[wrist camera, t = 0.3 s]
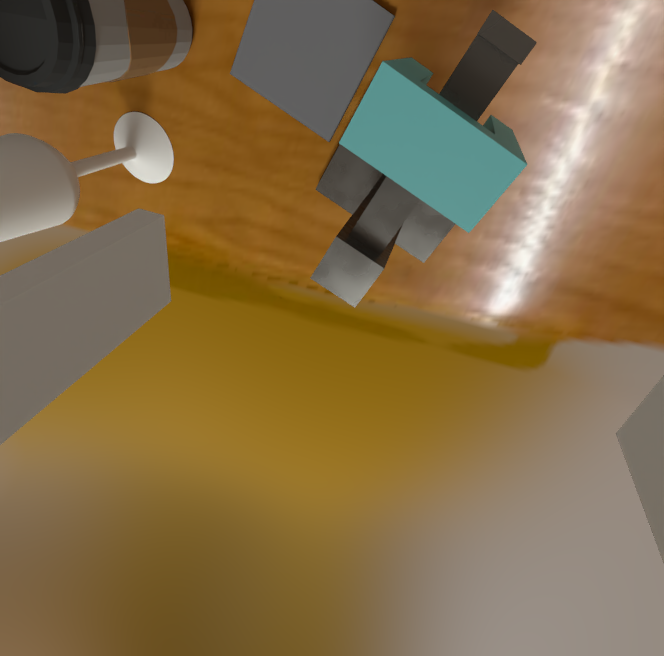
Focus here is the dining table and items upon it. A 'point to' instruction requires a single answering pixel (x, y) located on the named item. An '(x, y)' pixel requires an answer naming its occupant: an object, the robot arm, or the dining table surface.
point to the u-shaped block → (432, 144)
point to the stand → (392, 199)
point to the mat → (310, 55)
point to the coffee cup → (89, 41)
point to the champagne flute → (71, 173)
